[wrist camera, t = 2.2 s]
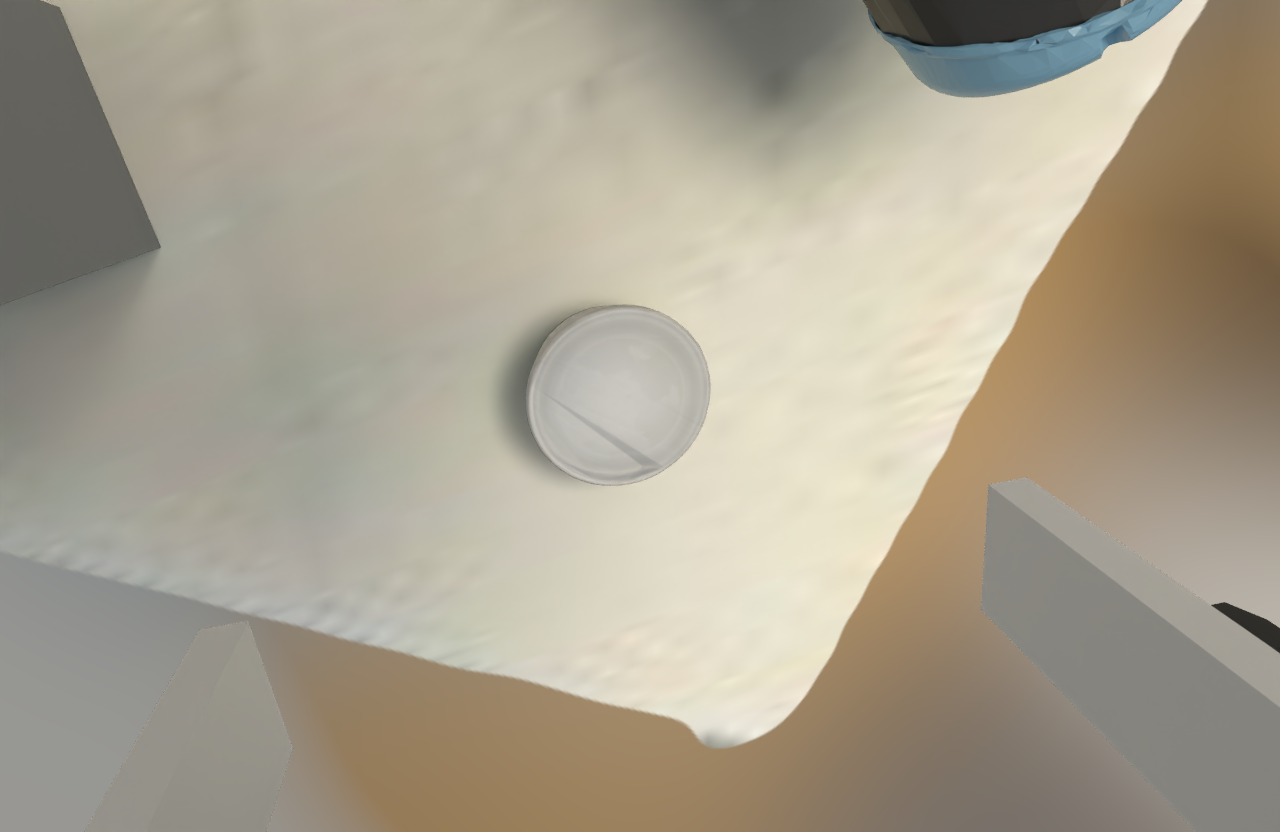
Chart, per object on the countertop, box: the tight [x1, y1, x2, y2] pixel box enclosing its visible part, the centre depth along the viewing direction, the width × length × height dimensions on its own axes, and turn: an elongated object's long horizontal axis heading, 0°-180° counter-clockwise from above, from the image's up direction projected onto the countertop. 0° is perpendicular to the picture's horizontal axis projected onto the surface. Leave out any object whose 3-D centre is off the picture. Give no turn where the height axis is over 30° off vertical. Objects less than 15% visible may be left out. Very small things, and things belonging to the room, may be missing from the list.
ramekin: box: [525, 305, 710, 486], centre depth 50 cm, size 11×11×5 cm
